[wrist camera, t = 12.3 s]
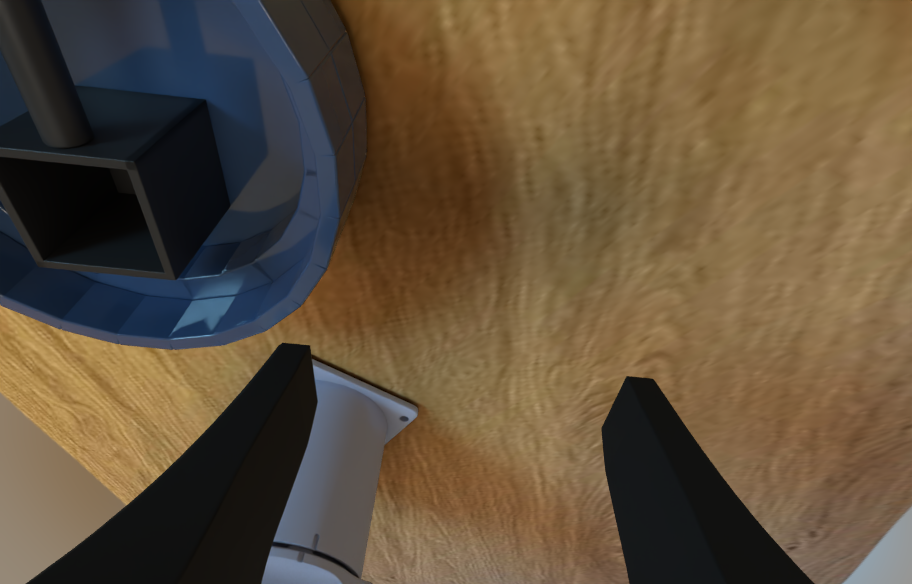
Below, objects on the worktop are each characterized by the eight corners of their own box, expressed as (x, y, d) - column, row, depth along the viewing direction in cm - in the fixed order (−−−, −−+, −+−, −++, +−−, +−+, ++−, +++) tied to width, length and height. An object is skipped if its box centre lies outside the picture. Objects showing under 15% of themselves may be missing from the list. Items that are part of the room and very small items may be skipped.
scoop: (231, 206, 20) (176, 281, 16) (117, 194, 20) (38, 267, 16) (175, -33, 15) (78, 2, 11) (20, -51, 14) (-127, -21, 11)
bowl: (274, 316, 25) (236, 400, 21) (-101, 138, 19) (-245, 208, 15) (455, 42, 16) (445, 100, 12) (-125, -408, 11) (-453, -548, 7)
